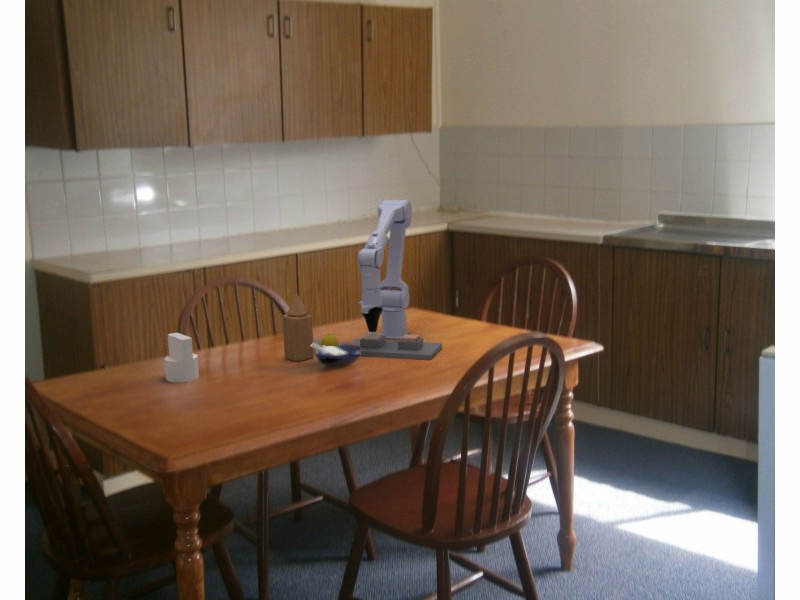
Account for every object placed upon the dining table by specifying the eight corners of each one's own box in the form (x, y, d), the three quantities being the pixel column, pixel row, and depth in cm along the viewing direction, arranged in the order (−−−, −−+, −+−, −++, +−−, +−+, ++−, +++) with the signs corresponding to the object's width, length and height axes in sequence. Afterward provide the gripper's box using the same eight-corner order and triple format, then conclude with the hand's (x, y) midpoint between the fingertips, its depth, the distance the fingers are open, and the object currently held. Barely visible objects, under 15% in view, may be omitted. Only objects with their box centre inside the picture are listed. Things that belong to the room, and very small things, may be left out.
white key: (368, 338, 281) (368, 332, 280) (381, 339, 279) (381, 333, 279) (363, 342, 276) (363, 335, 276) (377, 342, 275) (377, 336, 275)
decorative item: (314, 358, 271) (311, 292, 267) (296, 362, 267) (292, 295, 263) (302, 353, 276) (299, 289, 272) (283, 358, 272) (280, 292, 268)
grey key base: (356, 343, 287) (355, 330, 286) (442, 347, 279) (441, 335, 279) (340, 354, 274) (340, 341, 273) (430, 360, 266) (430, 346, 265)
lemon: (317, 360, 269) (316, 333, 267) (331, 356, 273) (330, 330, 271) (329, 363, 265) (328, 337, 263) (343, 359, 269) (342, 333, 267)
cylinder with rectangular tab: (160, 377, 255) (157, 336, 253) (189, 371, 261) (186, 330, 258) (175, 384, 248) (171, 342, 246) (204, 377, 254) (201, 336, 251)
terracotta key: (405, 340, 277) (405, 334, 277) (419, 341, 276) (419, 334, 276) (401, 344, 273) (401, 337, 273) (415, 344, 272) (415, 338, 271)
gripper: (366, 282, 282) (367, 325, 285) (350, 292, 269) (352, 336, 272) (388, 283, 280) (389, 326, 283) (373, 292, 267) (374, 337, 270)
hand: (372, 331), depth 277 cm, fingers closed
